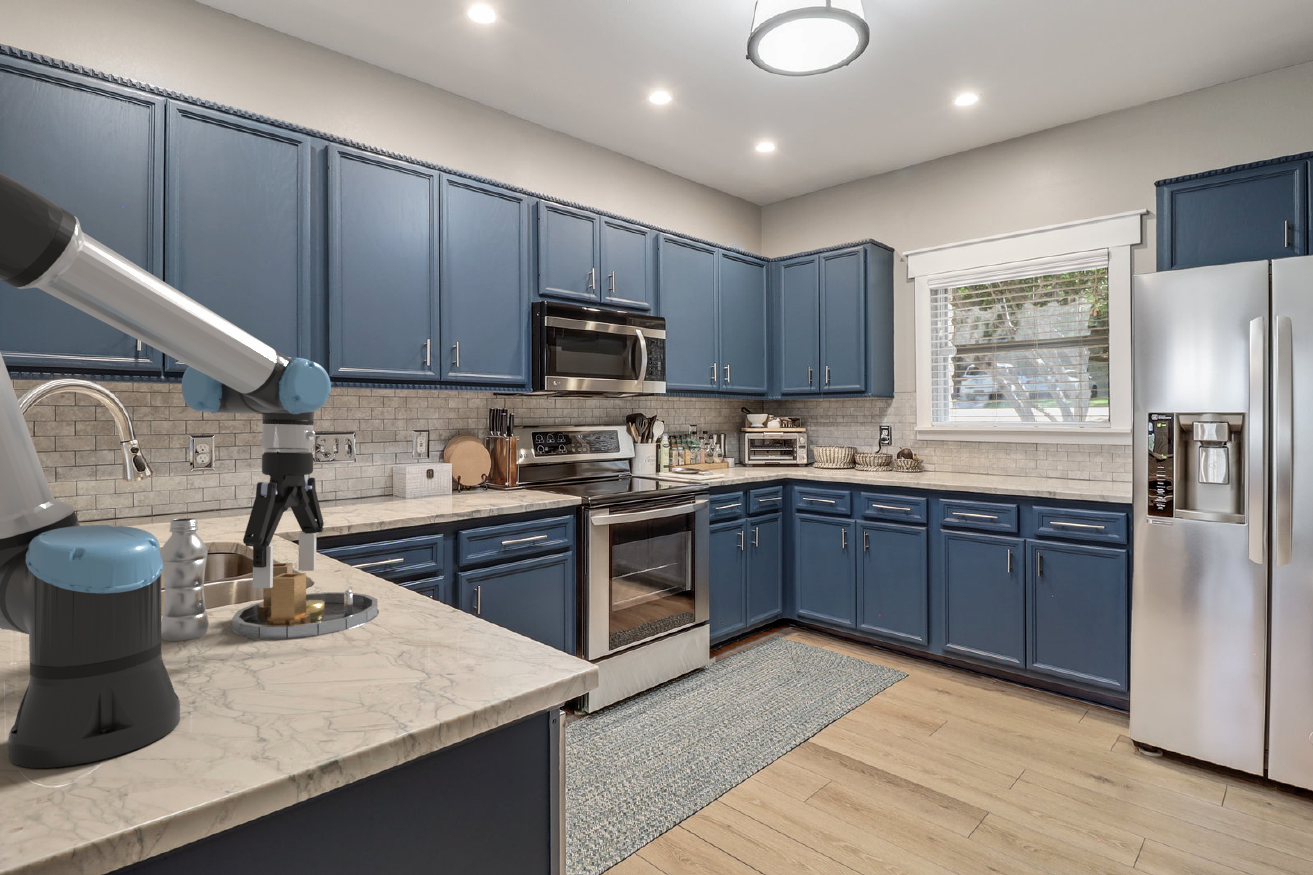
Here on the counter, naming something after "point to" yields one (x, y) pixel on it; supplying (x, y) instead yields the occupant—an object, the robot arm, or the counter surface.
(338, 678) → the counter surface
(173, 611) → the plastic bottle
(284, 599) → the hollow wooden square post
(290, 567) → the tan square tube
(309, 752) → the counter surface
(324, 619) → the bowl
